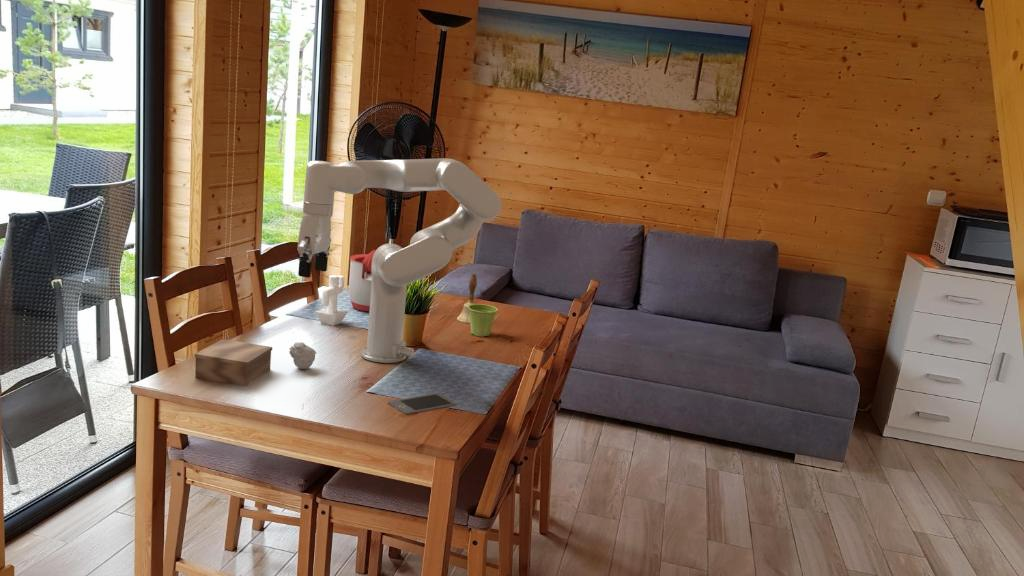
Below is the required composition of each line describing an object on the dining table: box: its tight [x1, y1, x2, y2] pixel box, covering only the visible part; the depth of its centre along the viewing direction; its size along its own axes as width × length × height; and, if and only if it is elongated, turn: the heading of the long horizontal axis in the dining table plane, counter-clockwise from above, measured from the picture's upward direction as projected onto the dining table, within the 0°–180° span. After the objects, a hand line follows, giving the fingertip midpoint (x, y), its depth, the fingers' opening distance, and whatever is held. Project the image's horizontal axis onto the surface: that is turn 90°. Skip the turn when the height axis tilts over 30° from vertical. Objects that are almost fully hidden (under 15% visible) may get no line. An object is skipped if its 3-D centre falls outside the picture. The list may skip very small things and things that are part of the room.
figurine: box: [315, 275, 349, 327], centre depth 251 cm, size 7×9×15 cm
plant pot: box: [468, 303, 499, 338], centre depth 258 cm, size 9×9×9 cm
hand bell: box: [456, 273, 478, 324], centre depth 272 cm, size 8×8×16 cm
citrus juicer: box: [348, 249, 377, 312], centre depth 272 cm, size 16×17×20 cm
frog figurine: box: [288, 341, 317, 370], centre depth 209 cm, size 6×7×7 cm
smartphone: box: [387, 392, 458, 415], centre depth 196 cm, size 15×8×1 cm, turn 130°
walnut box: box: [194, 338, 273, 387], centre depth 201 cm, size 13×13×6 cm
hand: (312, 273), depth 215 cm, fingers open, 9 cm apart
